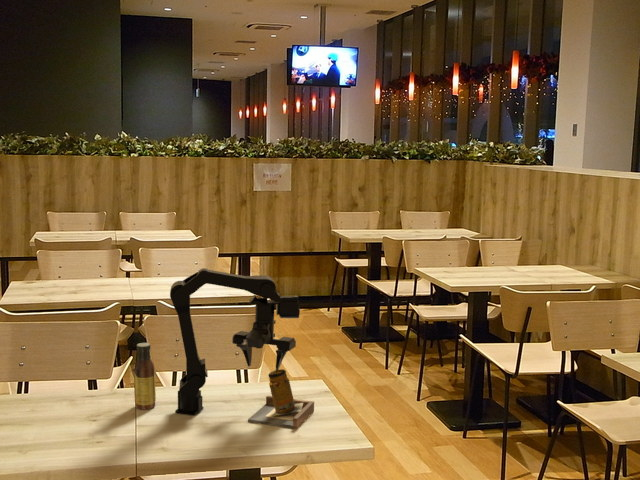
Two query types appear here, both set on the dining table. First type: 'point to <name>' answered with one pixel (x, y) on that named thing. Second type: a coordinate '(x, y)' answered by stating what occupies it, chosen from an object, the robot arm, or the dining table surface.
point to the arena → (284, 420)
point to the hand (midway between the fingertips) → (263, 368)
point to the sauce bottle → (144, 378)
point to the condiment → (282, 393)
